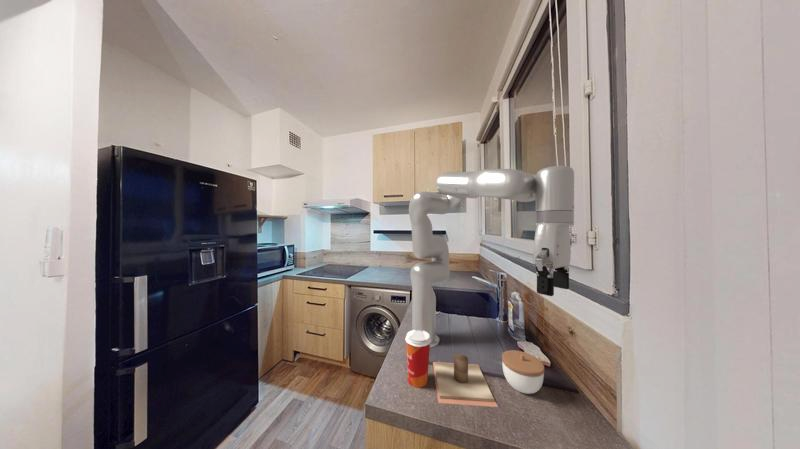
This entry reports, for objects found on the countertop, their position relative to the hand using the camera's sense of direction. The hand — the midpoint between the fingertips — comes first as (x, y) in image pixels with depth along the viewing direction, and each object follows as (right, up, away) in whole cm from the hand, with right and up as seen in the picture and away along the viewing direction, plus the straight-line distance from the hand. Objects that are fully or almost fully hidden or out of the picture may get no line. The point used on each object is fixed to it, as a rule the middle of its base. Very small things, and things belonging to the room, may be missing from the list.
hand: (553, 291), depth 52 cm
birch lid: (-19, -31, +12) cm, 38 cm away
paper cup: (-31, -31, +12) cm, 46 cm away
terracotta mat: (-19, -31, +12) cm, 38 cm away
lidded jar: (-1, -32, +11) cm, 34 cm away
